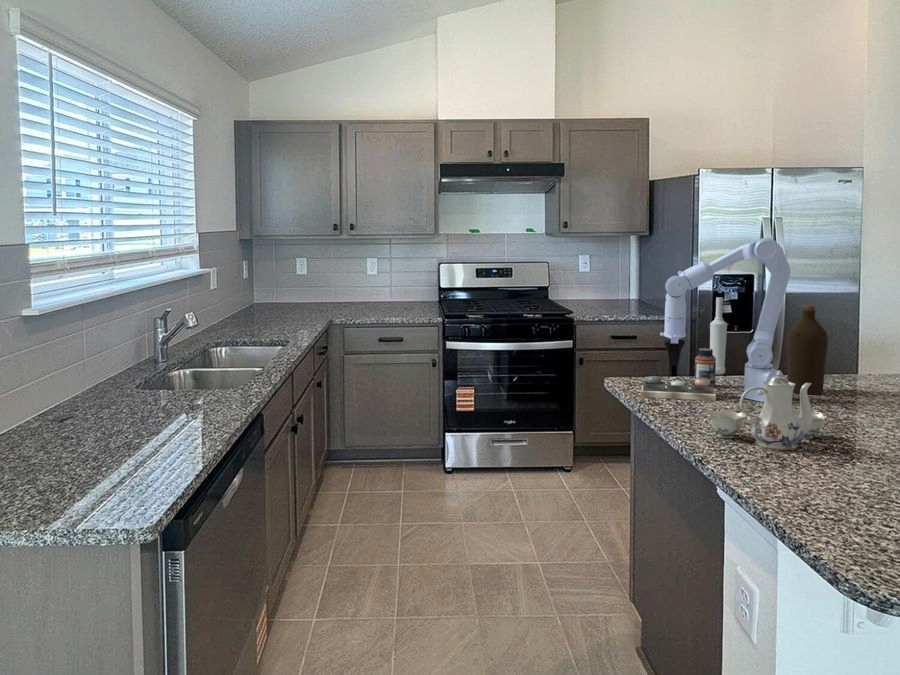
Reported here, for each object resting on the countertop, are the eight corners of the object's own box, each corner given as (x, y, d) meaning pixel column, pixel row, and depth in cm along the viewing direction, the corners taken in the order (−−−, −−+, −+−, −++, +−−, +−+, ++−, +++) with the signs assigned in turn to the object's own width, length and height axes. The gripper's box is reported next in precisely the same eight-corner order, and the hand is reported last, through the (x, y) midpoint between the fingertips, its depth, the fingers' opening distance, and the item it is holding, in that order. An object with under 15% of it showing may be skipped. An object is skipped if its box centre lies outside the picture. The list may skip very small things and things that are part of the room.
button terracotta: (709, 385, 218) (709, 378, 218) (709, 388, 214) (710, 381, 214) (694, 384, 219) (694, 377, 219) (694, 387, 215) (694, 380, 215)
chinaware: (815, 438, 178) (815, 366, 177) (856, 450, 161) (856, 370, 161) (695, 440, 177) (695, 367, 176) (724, 452, 160) (723, 372, 160)
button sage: (685, 388, 220) (685, 381, 220) (685, 390, 216) (685, 383, 216) (670, 387, 221) (670, 380, 221) (670, 389, 217) (670, 382, 217)
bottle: (713, 371, 258) (715, 296, 255) (728, 373, 255) (730, 297, 252) (705, 373, 255) (708, 297, 252) (720, 375, 251) (723, 298, 248)
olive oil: (824, 396, 216) (829, 307, 213) (783, 393, 221) (787, 306, 218) (825, 390, 225) (830, 304, 222) (785, 387, 230) (789, 303, 227)
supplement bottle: (698, 383, 237) (700, 347, 235) (718, 385, 233) (719, 348, 232) (691, 386, 232) (692, 349, 231) (710, 388, 228) (712, 350, 227)
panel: (714, 393, 221) (714, 382, 220) (715, 400, 211) (716, 388, 211) (642, 390, 226) (642, 379, 226) (640, 397, 217) (640, 385, 217)
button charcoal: (661, 383, 222) (661, 376, 221) (661, 385, 218) (661, 378, 218) (647, 382, 223) (647, 375, 223) (646, 385, 219) (646, 378, 219)
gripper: (660, 315, 227) (659, 360, 229) (660, 320, 213) (658, 368, 215) (686, 315, 225) (684, 361, 227) (686, 320, 211) (685, 369, 213)
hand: (673, 365), depth 221 cm, fingers closed
